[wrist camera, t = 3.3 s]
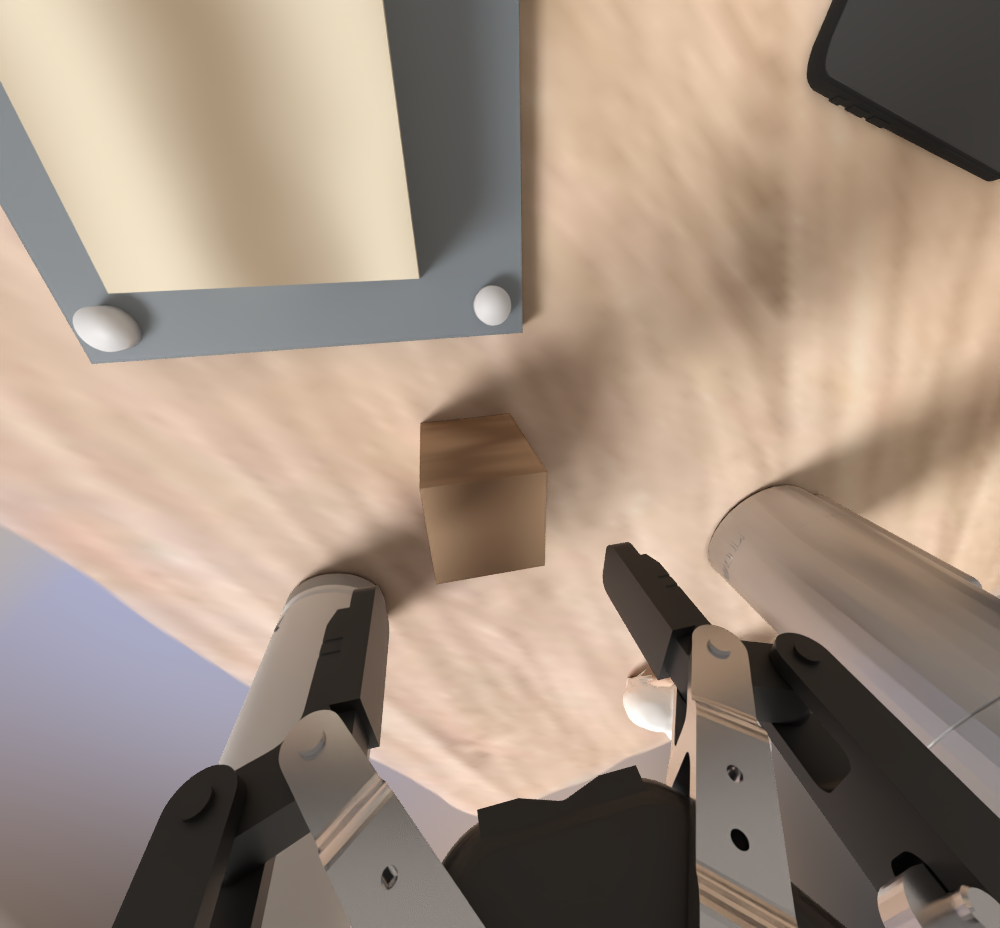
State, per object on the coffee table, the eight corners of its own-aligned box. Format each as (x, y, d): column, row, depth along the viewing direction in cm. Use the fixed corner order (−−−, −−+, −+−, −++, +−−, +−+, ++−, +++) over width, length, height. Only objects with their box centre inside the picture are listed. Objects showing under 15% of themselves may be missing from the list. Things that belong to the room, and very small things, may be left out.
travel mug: (261, 596, 23) (-273, 1647, 5) (356, 557, 23) (141, 1474, 5) (317, 649, 26) (99, 1424, 8) (402, 615, 26) (359, 1316, 8)
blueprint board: (508, -128, 12) (523, -201, 10) (516, 329, 18) (526, 334, 16) (-197, -215, 9) (-348, -335, 7) (114, 358, 15) (75, 368, 14)
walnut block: (509, 413, 20) (546, 471, 14) (511, 488, 23) (544, 565, 16) (420, 423, 19) (419, 488, 13) (432, 498, 22) (436, 584, 16)
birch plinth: (376, -50, 11) (355, -201, 8) (420, 278, 15) (419, 278, 12) (35, -79, 10) (-183, -279, 6) (186, 289, 14) (108, 293, 10)
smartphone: (1006, 187, 19) (809, 78, 15) (982, 190, 20) (789, 88, 16) (1136, -10, 16) (935, -216, 12) (1102, 4, 17) (902, -185, 13)
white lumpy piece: (759, 789, 32) (639, 792, 30) (702, 693, 40) (603, 690, 38) (798, 751, 29) (669, 751, 27) (729, 656, 37) (624, 650, 35)
